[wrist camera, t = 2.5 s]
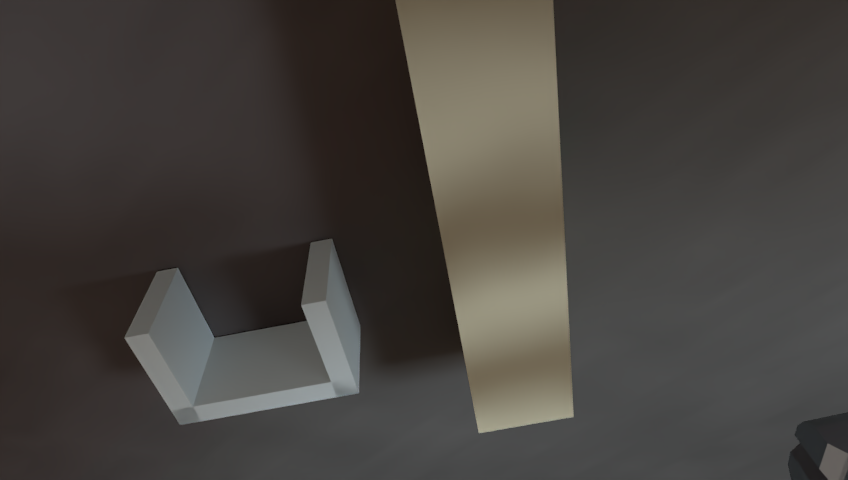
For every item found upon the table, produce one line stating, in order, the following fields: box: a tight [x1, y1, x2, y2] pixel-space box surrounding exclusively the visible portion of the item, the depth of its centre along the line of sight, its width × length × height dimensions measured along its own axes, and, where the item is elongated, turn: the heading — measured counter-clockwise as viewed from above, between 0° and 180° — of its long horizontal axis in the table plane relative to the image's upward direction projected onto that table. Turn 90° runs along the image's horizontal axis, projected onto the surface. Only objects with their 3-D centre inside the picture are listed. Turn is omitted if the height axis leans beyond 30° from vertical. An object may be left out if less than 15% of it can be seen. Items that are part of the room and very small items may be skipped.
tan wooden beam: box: [395, 0, 573, 433], centre depth 19 cm, size 18×4×4 cm, turn 10°
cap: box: [124, 239, 361, 425], centre depth 22 cm, size 4×7×4 cm
